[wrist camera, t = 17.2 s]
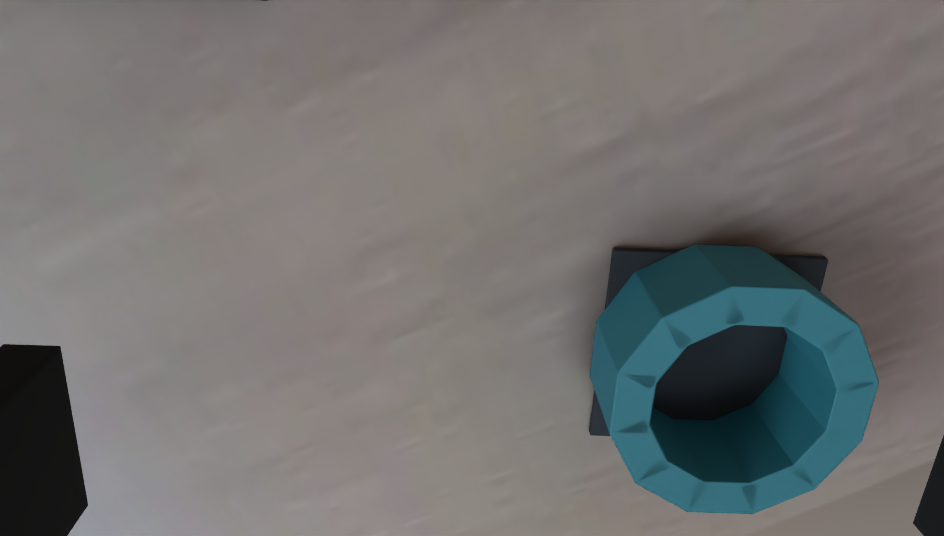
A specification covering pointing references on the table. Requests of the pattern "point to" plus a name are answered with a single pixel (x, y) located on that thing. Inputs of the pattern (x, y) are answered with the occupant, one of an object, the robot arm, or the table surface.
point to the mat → (711, 352)
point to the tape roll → (752, 427)
